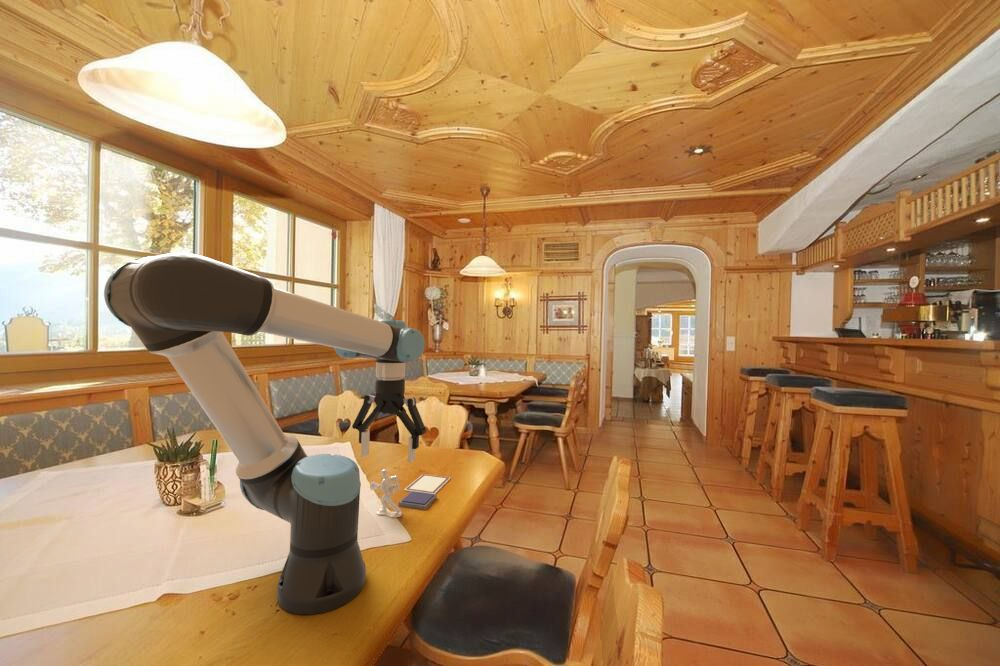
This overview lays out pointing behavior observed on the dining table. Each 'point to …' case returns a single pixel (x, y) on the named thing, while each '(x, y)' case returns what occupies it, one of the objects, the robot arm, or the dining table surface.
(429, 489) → the print sheet
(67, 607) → the dining table surface
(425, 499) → the ink pad
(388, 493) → the figurine
